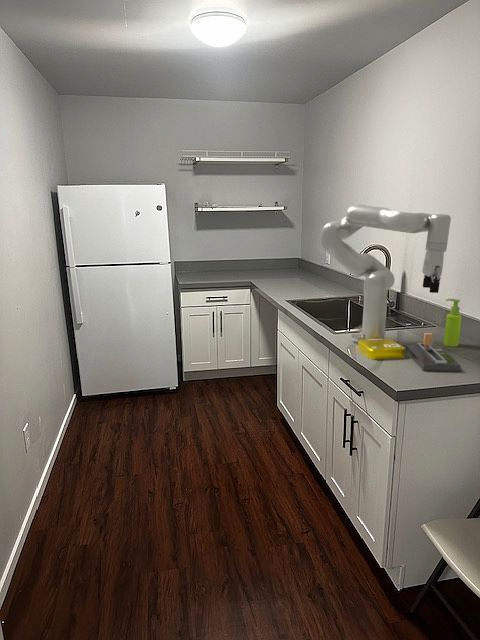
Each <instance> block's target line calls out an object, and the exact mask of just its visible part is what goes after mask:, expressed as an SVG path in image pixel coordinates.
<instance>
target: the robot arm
mask: <svg viewBox="0 0 480 640" xmlns="http://www.w3.org/2000/svg"><path fill="white" fill-rule="evenodd" d="M451 219H452V217H451V216H450V214H443V213H442V214H441V213H440V214H439V213H436V214H435V213H434V214H431V213H426V212H405V211H396V210H392V209H390V208H388V207H382V206H381V207H380V206H370V205H367V204H353V205H351V206H350V207H348V209H347V210H346V212H345V216H344V217H343V218H342V219H340V220H333V221H329V222H328V223H326V224H324V226H323V227H322V229H321V231H320V242H321V243H320V244H321V245H322V249H324V250H325V252H326V253H327V254H328V255H329V256H330V257H332V259H334V260H335V261H336V262H337V263H338V264H339V265H340V266H342V268H344V270H346V271H347V273H349V274H350V275H351V276H353V277H356V278H361V277H364V278H365V279H364V281H363V310H362V311H363V312H362V325H361V330H360V331H359V332H358V333H350V338H351V339H355V340H357V341H358V340H360V339H380V338H385V335H386V334H385V332H386V322H387V321H386V320H387V305H388V297H387V292H388V290H390V289H391V288H392V287H393V286H394V284H395V281H396V280H395V276H394V273H393V272H392V271H391V270H390V268H388V267H387V266H386V265H384V264H383V263H382V262H381V261H380V260H378V259H377V258H376V257H375V256H373V255H371V254H370V253H359V252H357V250H355V249H354V248H352V246H350V245H349V244H348V243H346V242H344V241H343V240H347V239H348V238H350V237H351V236H352V235H354V234H355V233H356V232H358V231H360V230H361V229H362V228H363V227H365V228H374V229H380V230H384V231H385V230H387V231H393V232H400V233H407V234H408V233H409V234H418V233H423V232H424V233H425V232H427V235H426V244H425V250H426V251H425V255H424V260H423V266H422V273H423V274H424V275H423V281H422V288H423V289H424V288H427V289H429V293H431V294H434V293H436V294H438V293H439V290H440V284H441V278H442V277H441V276H442V275H443V274H442V273H443V267H444V259H445V252H447V248H448V241H449V235H450V234H449V233H450V227H451V221H452V220H451Z"/></svg>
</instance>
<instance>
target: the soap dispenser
mask: <svg viewBox="0 0 480 640" xmlns="http://www.w3.org/2000/svg"><path fill="white" fill-rule="evenodd" d="M445 301H447V302H450V301H451V302H453V304H452V305H453V306H450V311H449V313H447V314H446V318H445V319H446V321H445V328H444V336H443V345H444V346H447V347H452V348H453V347H455V348H456V347H458V346H459V345H460V344H459V343H460V334H461V328H462V327H461V326H462V319H463V318H462V317H463V316H462V315H461V314H460V310H461V309H460V308H461V307H459V303H460V302H461V299H456V298H447V299H445Z"/></svg>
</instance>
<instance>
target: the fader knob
mask: <svg viewBox="0 0 480 640" xmlns="http://www.w3.org/2000/svg"><path fill="white" fill-rule="evenodd" d="M433 336H434V334H433V333H431V332H429V333H428V332H424V333H423V342H422V343H423V344H424V345H426V346H423V347H424V348H425V349H426V350H428V351H431V348H430V347H429V345H433V338H434V337H433Z"/></svg>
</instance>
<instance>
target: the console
mask: <svg viewBox="0 0 480 640" xmlns="http://www.w3.org/2000/svg"><path fill="white" fill-rule="evenodd" d="M404 345H405V352H406V353H407V354H408V355H409V357H410V358H411V359H412V360H413V361H414V362H415V364H416V365H417V366H418V367H419V368H420V369H421V370H422V371H424V372H454V373H458V372H459V373H460V371H461V364H459V363H458V361H456V360H455V359H454V358H453V357H452V356H450V354H449V353H447V351H445V350H444V349H443V348H442V347H440V346H439V345H438V344H432V345H429V347H430V348H431V351H428V350H426V349H425V348H424V347H423V346H426V345H424V344H423V342H417V343H416V344H404Z"/></svg>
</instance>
